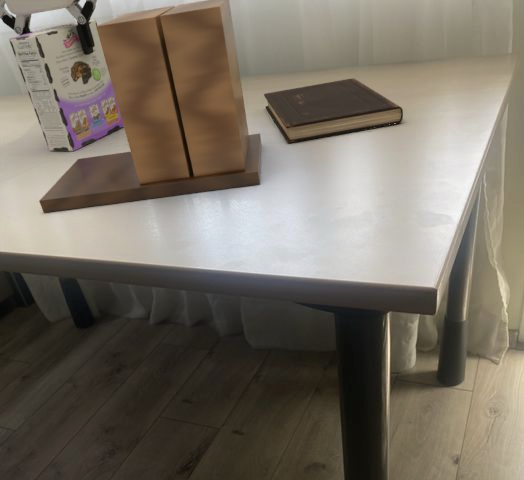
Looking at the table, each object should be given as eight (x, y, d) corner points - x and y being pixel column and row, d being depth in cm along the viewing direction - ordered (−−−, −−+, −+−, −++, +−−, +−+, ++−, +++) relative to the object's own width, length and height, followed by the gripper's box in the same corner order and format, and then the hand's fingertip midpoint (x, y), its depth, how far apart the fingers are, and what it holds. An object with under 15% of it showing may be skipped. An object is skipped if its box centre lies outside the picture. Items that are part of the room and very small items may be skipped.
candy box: (101, 126, 97) (70, 21, 87) (127, 126, 94) (97, 18, 84) (47, 151, 87) (5, 36, 77) (74, 151, 85) (34, 33, 75)
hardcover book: (288, 143, 72) (286, 126, 71) (265, 108, 91) (264, 93, 89) (403, 123, 72) (403, 105, 71) (357, 92, 91) (357, 77, 90)
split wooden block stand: (43, 212, 63) (-24, 46, 53) (81, 169, 76) (33, 28, 66) (260, 184, 61) (234, 4, 50) (261, 144, 74) (241, -6, 63)
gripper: (-55, -76, 71) (1, 70, 81) (70, -99, 69) (111, 52, 80) (-30, -73, 77) (19, 62, 87) (86, -95, 75) (122, 46, 86)
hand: (63, 57), depth 83 cm, fingers closed on candy box, 8 cm apart
